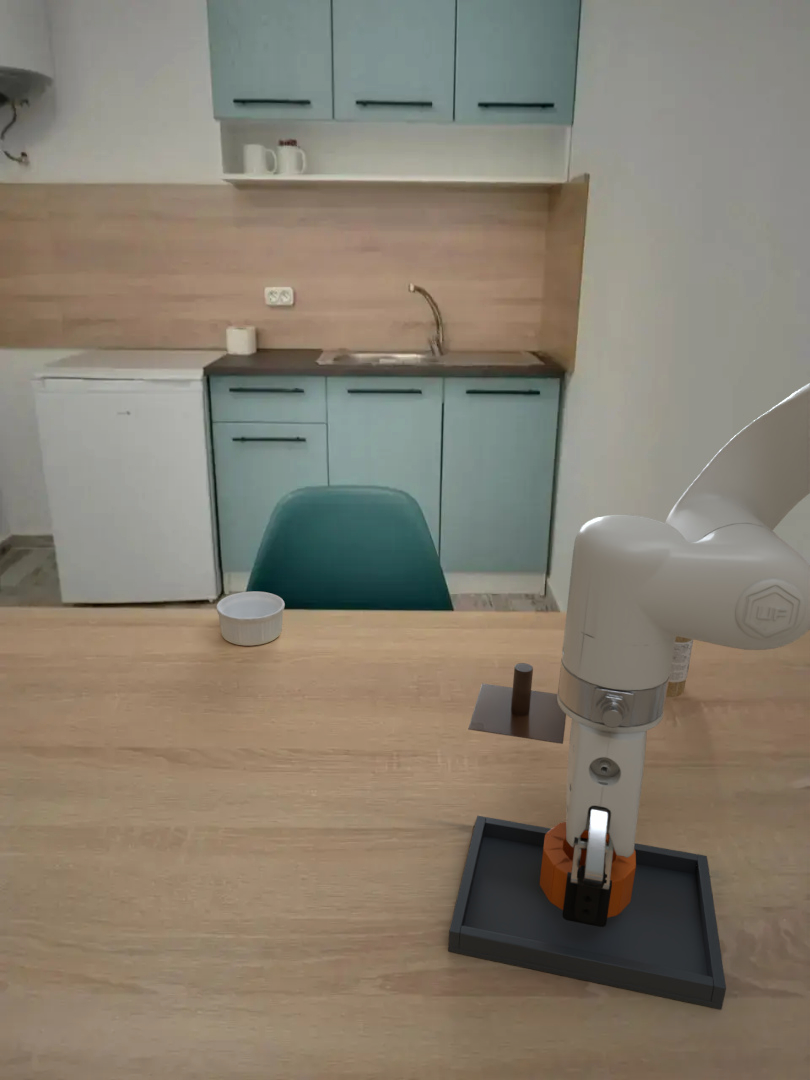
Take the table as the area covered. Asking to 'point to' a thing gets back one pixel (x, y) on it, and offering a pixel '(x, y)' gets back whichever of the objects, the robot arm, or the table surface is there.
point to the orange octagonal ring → (560, 863)
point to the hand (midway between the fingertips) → (585, 882)
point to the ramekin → (251, 617)
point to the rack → (519, 710)
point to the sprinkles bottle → (679, 666)
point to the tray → (585, 950)
